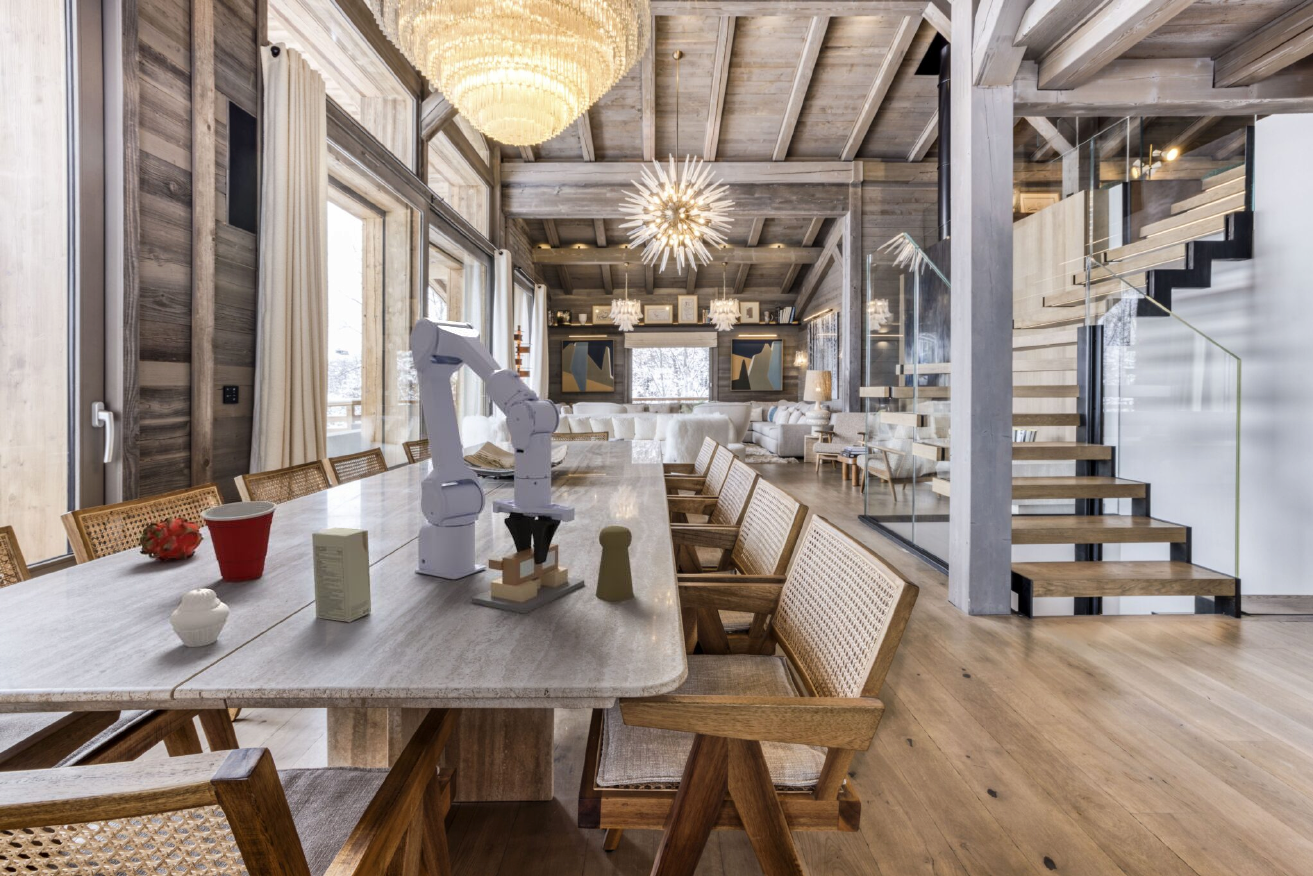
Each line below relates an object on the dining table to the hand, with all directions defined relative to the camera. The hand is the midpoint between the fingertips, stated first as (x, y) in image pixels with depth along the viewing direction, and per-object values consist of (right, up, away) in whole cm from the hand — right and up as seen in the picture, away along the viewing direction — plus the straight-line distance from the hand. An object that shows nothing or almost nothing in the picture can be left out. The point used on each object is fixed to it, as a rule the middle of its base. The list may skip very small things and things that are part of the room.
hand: (532, 561), depth 103 cm
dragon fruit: (-69, -3, +17) cm, 71 cm away
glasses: (-1, -2, 0) cm, 2 cm away
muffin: (-38, -6, -21) cm, 44 cm away
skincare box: (-25, -6, -11) cm, 28 cm away
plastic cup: (-50, -4, +6) cm, 51 cm away
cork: (+13, -6, +1) cm, 14 cm away
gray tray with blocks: (0, -5, +1) cm, 5 cm away
